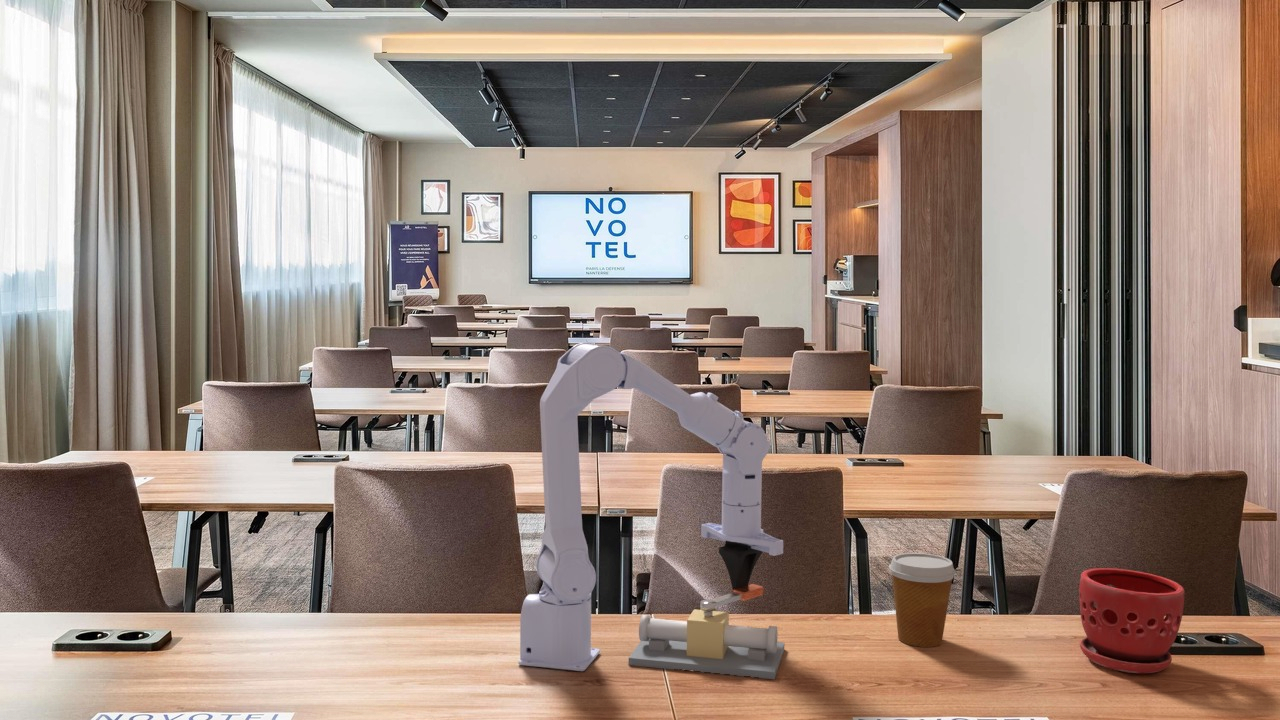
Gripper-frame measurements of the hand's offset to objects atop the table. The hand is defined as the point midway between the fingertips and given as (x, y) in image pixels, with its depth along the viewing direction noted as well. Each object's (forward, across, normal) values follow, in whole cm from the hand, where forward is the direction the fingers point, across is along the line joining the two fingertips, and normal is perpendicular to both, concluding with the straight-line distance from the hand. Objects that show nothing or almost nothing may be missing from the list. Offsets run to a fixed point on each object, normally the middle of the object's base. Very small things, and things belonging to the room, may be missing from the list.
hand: (740, 594), depth 151 cm
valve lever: (0, -2, +4) cm, 4 cm away
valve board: (+7, -2, +9) cm, 11 cm away
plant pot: (+7, -41, -35) cm, 55 cm away
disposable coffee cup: (+7, -17, -21) cm, 28 cm away
